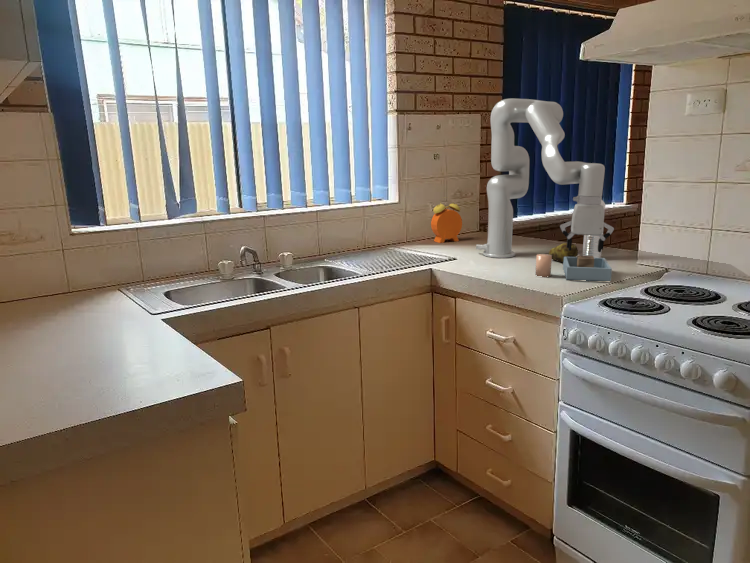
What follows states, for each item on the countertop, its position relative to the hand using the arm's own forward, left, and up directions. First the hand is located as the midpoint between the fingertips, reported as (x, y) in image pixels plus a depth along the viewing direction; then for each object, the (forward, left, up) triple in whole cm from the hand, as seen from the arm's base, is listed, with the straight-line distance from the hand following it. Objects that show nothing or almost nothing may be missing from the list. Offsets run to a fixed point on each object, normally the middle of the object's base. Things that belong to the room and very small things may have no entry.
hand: (584, 250), depth 198 cm
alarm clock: (-54, +55, -8) cm, 77 cm away
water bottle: (+6, +26, -8) cm, 27 cm away
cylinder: (-13, -7, -8) cm, 17 cm away
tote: (+1, -4, -8) cm, 9 cm away
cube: (+1, -1, -7) cm, 7 cm away
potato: (-6, +16, -8) cm, 18 cm away
